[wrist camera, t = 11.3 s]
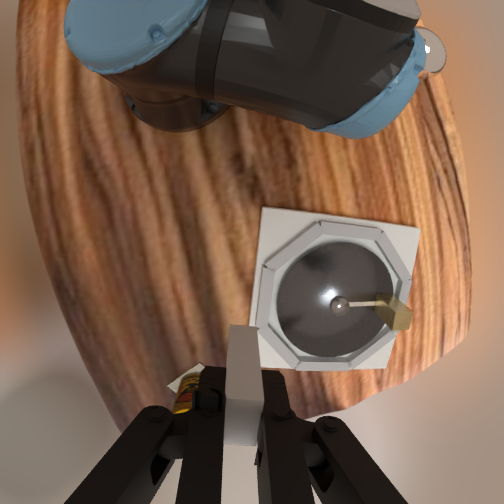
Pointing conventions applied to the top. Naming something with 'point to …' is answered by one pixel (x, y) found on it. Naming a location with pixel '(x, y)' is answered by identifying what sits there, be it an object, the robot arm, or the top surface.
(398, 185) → the top surface
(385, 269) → the dial
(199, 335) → the top surface
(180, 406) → the condiment
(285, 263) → the dial base
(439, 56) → the light bulb
